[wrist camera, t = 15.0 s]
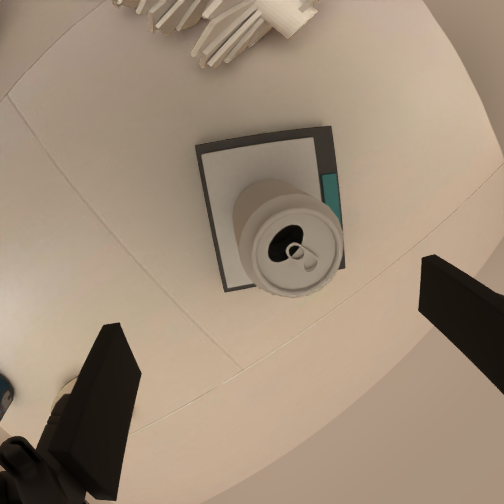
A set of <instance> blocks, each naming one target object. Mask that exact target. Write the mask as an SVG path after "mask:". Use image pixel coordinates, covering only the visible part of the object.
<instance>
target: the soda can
mask: <svg viewBox="0 0 504 504" xmlns="http://www.w3.org/2000/svg"><path fill="white" fill-rule="evenodd" d="M12 401H13V389H12V387H11V385H10V383H9V382H8V381H7V380H6V379H5V378H4V377H3V376H2V375H0V421H1V419H2V418H3V416H4V414H5V412H6V411H7V409H8V407H9V406H10V404H11V402H12Z"/></svg>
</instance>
